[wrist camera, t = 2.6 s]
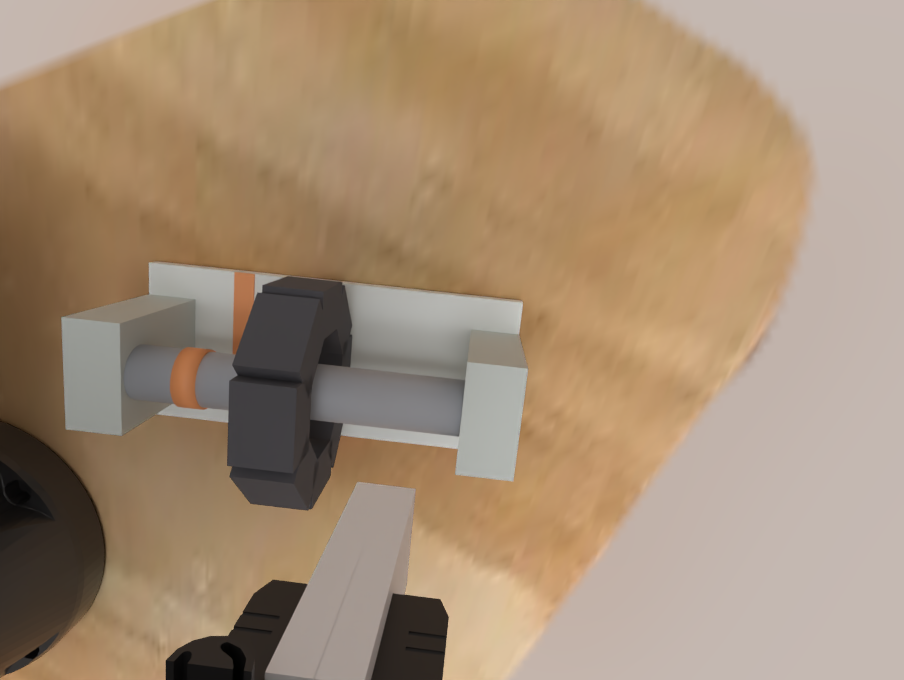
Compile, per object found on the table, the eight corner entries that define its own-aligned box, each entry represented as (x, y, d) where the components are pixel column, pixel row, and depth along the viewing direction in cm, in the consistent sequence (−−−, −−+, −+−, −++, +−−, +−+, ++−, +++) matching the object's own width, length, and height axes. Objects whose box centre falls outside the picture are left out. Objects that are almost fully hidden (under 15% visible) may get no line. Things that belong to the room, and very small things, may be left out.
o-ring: (298, 446, 32) (225, 540, 23) (307, 269, 30) (231, 296, 21) (344, 451, 32) (289, 548, 23) (356, 274, 30) (300, 303, 21)
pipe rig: (157, 408, 33) (67, 464, 26) (157, 261, 32) (59, 277, 24) (503, 448, 33) (508, 517, 25) (521, 300, 31) (533, 328, 24)
